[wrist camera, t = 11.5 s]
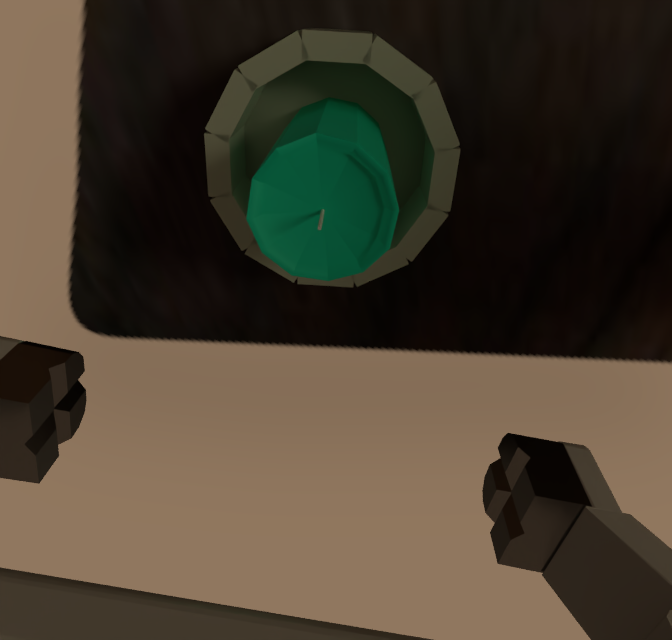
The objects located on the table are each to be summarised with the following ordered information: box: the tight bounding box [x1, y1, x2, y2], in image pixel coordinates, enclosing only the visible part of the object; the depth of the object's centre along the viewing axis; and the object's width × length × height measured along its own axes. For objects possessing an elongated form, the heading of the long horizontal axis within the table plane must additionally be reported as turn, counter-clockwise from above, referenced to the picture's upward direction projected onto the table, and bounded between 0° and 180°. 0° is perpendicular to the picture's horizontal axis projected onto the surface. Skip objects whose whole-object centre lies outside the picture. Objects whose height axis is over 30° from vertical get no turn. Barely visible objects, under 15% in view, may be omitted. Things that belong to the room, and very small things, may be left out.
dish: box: [204, 28, 461, 287], centre depth 28 cm, size 12×12×5 cm
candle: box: [246, 97, 399, 281], centre depth 24 cm, size 6×6×12 cm
